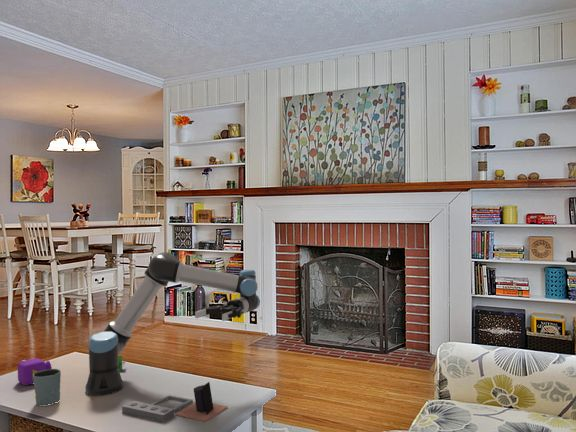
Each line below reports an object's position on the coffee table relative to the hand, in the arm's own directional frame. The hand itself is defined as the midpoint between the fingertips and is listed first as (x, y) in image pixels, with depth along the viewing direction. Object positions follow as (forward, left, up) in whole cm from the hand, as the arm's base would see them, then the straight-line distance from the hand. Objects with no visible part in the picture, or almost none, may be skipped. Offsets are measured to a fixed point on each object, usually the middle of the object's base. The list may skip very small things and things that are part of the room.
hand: (209, 316), depth 203 cm
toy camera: (-83, -20, -32) cm, 91 cm away
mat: (+8, -17, -32) cm, 37 cm away
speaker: (+9, -17, -32) cm, 37 cm away
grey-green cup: (-55, -35, -32) cm, 73 cm away
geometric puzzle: (-60, +7, -32) cm, 68 cm away
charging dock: (-9, -20, -32) cm, 39 cm away
